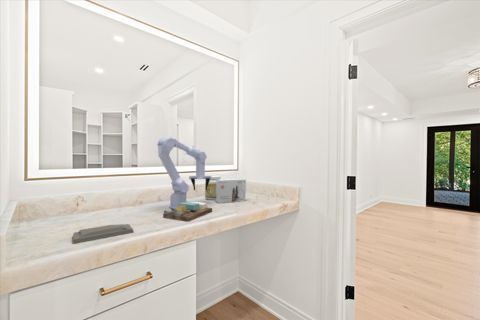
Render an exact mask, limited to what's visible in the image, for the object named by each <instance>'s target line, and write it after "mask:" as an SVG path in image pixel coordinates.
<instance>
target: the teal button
mask: <svg viewBox="0 0 480 320" xmlns="http://www.w3.org/2000/svg"><path fill="white" fill-rule="evenodd" d="M191 202H192V201H191ZM191 202H189V201H188V202H187V201H186V202H182V203H179V206H180V205H187V209H190V210H195V209H198V208H199V203H191Z"/></svg>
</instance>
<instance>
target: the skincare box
mask: <svg viewBox="0 0 480 320" xmlns="http://www.w3.org/2000/svg"><path fill="white" fill-rule="evenodd" d="M216 181H217V186H216V200H215V202H216V203H217V204H226V203H237V202H245V201H246V191H247V190H246V189H247V188H246V187H247V186H246V185H247V180H246V179H245V178H229V179H227V178H225V179H224V178H223V179H220V180H216Z"/></svg>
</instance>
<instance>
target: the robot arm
mask: <svg viewBox="0 0 480 320" xmlns="http://www.w3.org/2000/svg"><path fill="white" fill-rule="evenodd" d="M156 146H157V150H158V158H159V160H160V162H161V163H162V165H163V167H164V169H165V170H166V173H167V174H168V176H169V177H170V180H171V183H170V184H171V185H172V187H171V188H172V191H174V192H172V193H171V194H170V198H169V199H170V203H169V205H170V206H169V208H170V209H172V208H175V209H177V206H179V203H182V202H187V194H188V191H189V190H190V187H189V185H188V183H187V182H186V181H185V180H184V178H182V177H181V175H180V174H179V172H178V170H177V168H176V166H175V164H174V162H173V160H172V158H171V157H170V154H171V151H172V150H173V148H177V149H178V150H181V151H184V152H186V154H187V155H188V156H190V157H191V158H194V160H195V166H196V167H195V175H189V176H188V179H189V180H190V181H191V183H192V188H193V191H196V180H205V181H206V186H204V187H205V190H207V186H208V183H209V181H210V179H211V176H212V175H205V174H206V172H205V171H206V168H205V167H206V166H205V165H206V159H207V158H208V157H207V154H206V152H205V151H201V150H200V149H198V148H195V146H188V145H185V144H184V143H182V142H181V141H179V140H177V139H176V138H174V137H171V136H169V137H162V138H160V139H159V140H158V142H157V145H156Z"/></svg>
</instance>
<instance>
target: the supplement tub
mask: <svg viewBox="0 0 480 320" xmlns="http://www.w3.org/2000/svg"><path fill="white" fill-rule="evenodd" d="M210 176H211V179H210V181H209V183H208V186H207V190H205V191H204V192H205V193H204V194H205V195H204V197H205V199H206V200H207V201H208V200H209V201H216V186H217V181H216V180H221V176H220V175H210ZM204 183H205V186H206V180H205V182H204ZM205 186H204V187H205Z"/></svg>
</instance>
